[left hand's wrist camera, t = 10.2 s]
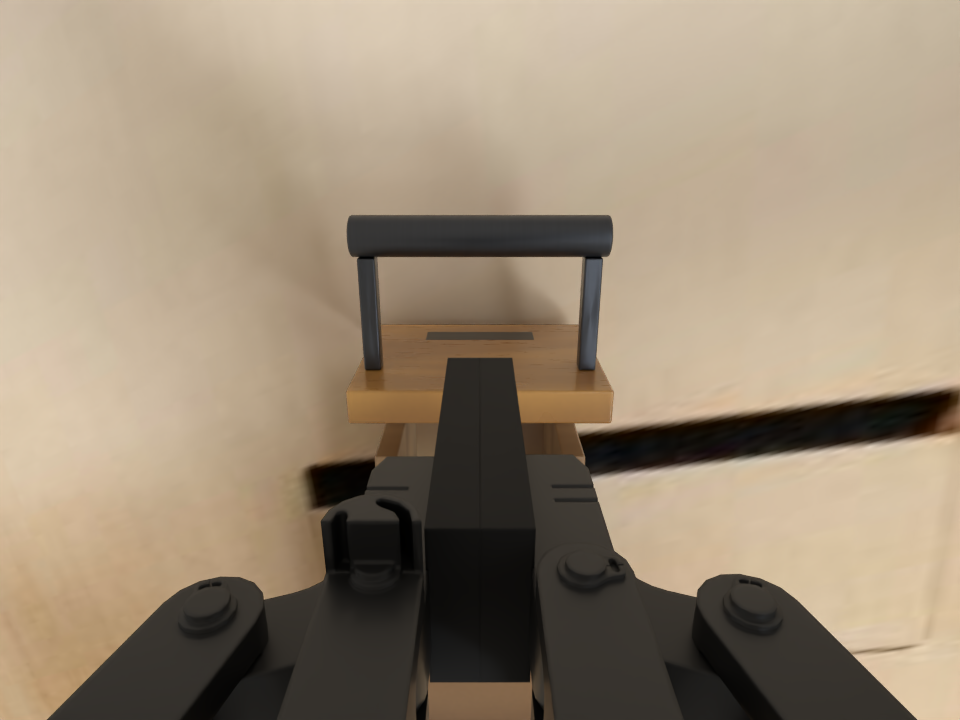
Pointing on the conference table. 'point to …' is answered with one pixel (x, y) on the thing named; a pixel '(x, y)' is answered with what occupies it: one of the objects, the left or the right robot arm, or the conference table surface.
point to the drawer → (479, 332)
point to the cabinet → (480, 700)
